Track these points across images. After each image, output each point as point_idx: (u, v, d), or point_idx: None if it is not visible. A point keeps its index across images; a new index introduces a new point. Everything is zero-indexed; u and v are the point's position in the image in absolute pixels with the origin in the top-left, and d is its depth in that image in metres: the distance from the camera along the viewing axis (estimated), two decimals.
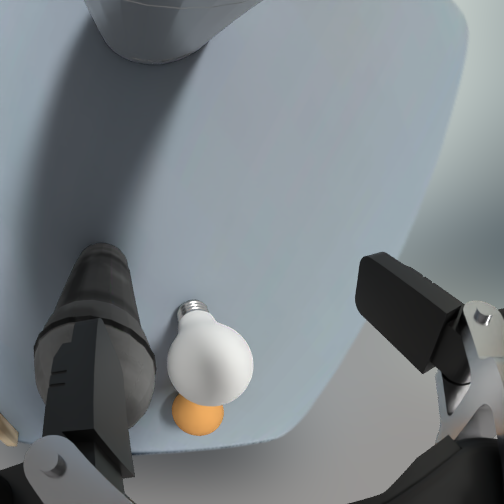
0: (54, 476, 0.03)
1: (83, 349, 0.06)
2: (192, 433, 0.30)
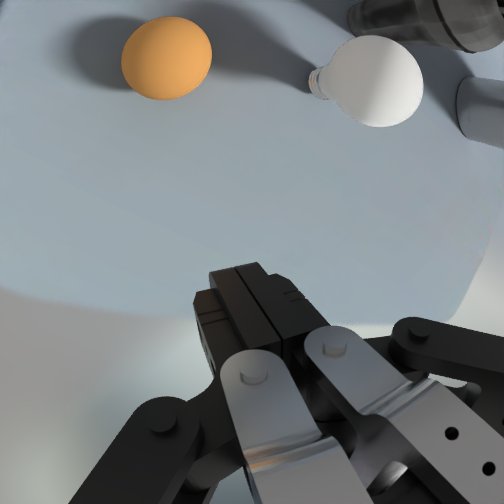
0: (267, 381, 0.05)
1: (234, 289, 0.08)
2: (162, 31, 0.14)
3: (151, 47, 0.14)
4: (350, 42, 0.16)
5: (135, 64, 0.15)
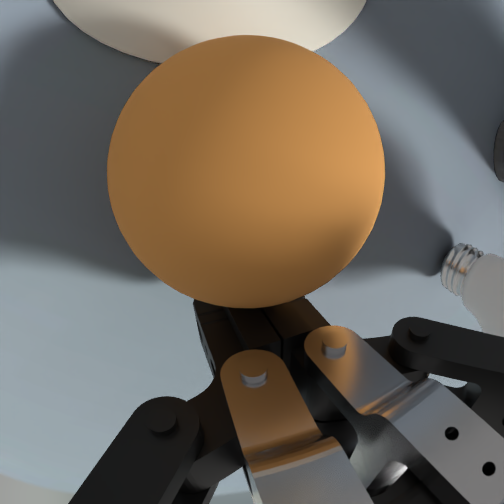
0: (267, 381, 0.05)
1: None
2: (228, 36, 0.05)
3: (196, 54, 0.04)
4: None
5: (138, 119, 0.04)
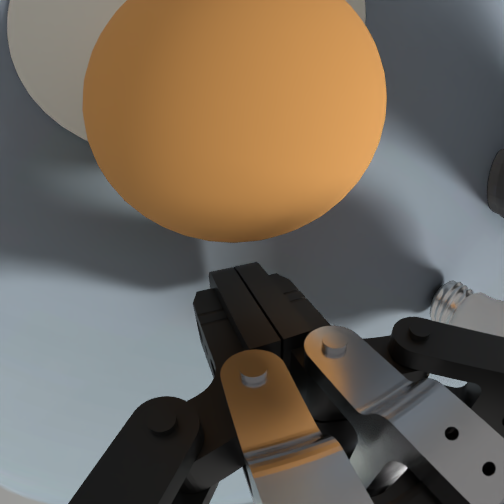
0: (267, 381, 0.05)
1: (234, 288, 0.08)
2: None
3: None
4: None
5: None
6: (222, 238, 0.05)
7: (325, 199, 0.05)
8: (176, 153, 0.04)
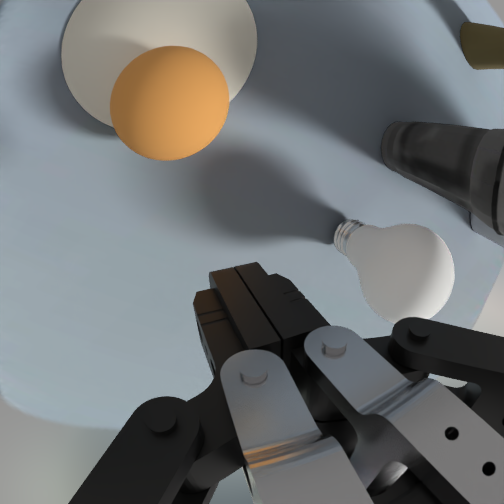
0: (267, 381, 0.05)
1: (234, 289, 0.08)
2: None
3: None
4: (392, 249, 0.17)
5: None
6: (159, 153, 0.13)
7: (192, 135, 0.13)
8: (142, 122, 0.12)
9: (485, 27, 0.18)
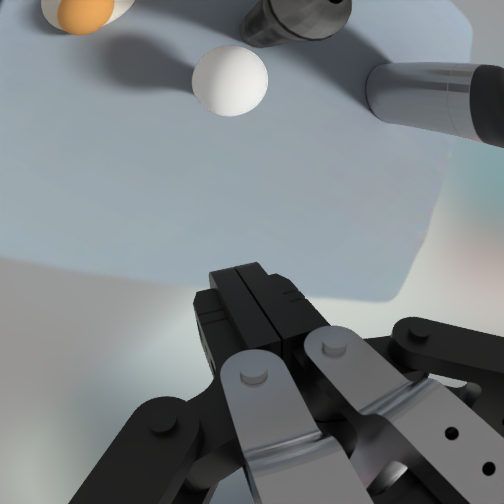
0: (267, 381, 0.05)
1: (234, 289, 0.08)
2: None
3: None
4: (203, 56, 0.22)
5: None
6: (74, 26, 0.19)
7: (87, 14, 0.19)
8: (66, 11, 0.18)
9: None
